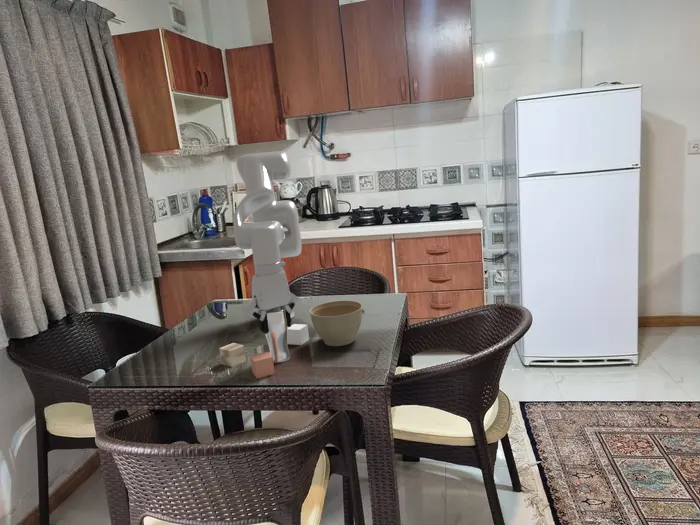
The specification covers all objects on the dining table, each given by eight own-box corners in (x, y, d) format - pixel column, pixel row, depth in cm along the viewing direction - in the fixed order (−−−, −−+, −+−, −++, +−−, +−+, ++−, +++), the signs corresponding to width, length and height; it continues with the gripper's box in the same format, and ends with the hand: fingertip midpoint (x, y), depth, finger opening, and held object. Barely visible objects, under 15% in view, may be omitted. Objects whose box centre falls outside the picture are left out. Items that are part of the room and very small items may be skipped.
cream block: (287, 344, 165) (285, 329, 164) (295, 338, 170) (294, 323, 169) (301, 345, 163) (299, 330, 162) (309, 339, 167) (307, 324, 166)
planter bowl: (315, 334, 171) (312, 302, 169) (365, 330, 170) (362, 298, 168) (310, 353, 155) (306, 317, 153) (365, 348, 154) (361, 313, 152)
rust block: (252, 372, 145) (250, 355, 144) (270, 368, 147) (267, 351, 146) (256, 378, 141) (254, 361, 140) (274, 374, 142) (272, 357, 141)
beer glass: (281, 365, 148) (275, 314, 145) (263, 361, 152) (256, 312, 149) (296, 356, 154) (290, 306, 151) (278, 353, 158) (272, 305, 155)
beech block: (221, 364, 153) (219, 348, 152) (235, 358, 157) (233, 342, 156) (232, 367, 150) (229, 351, 149) (246, 361, 154) (243, 345, 153)
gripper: (289, 261, 155) (296, 319, 159) (234, 273, 146) (242, 334, 150) (301, 264, 149) (308, 324, 153) (244, 276, 140) (253, 340, 143)
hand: (276, 328), depth 151 cm, fingers closed on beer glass, 6 cm apart
